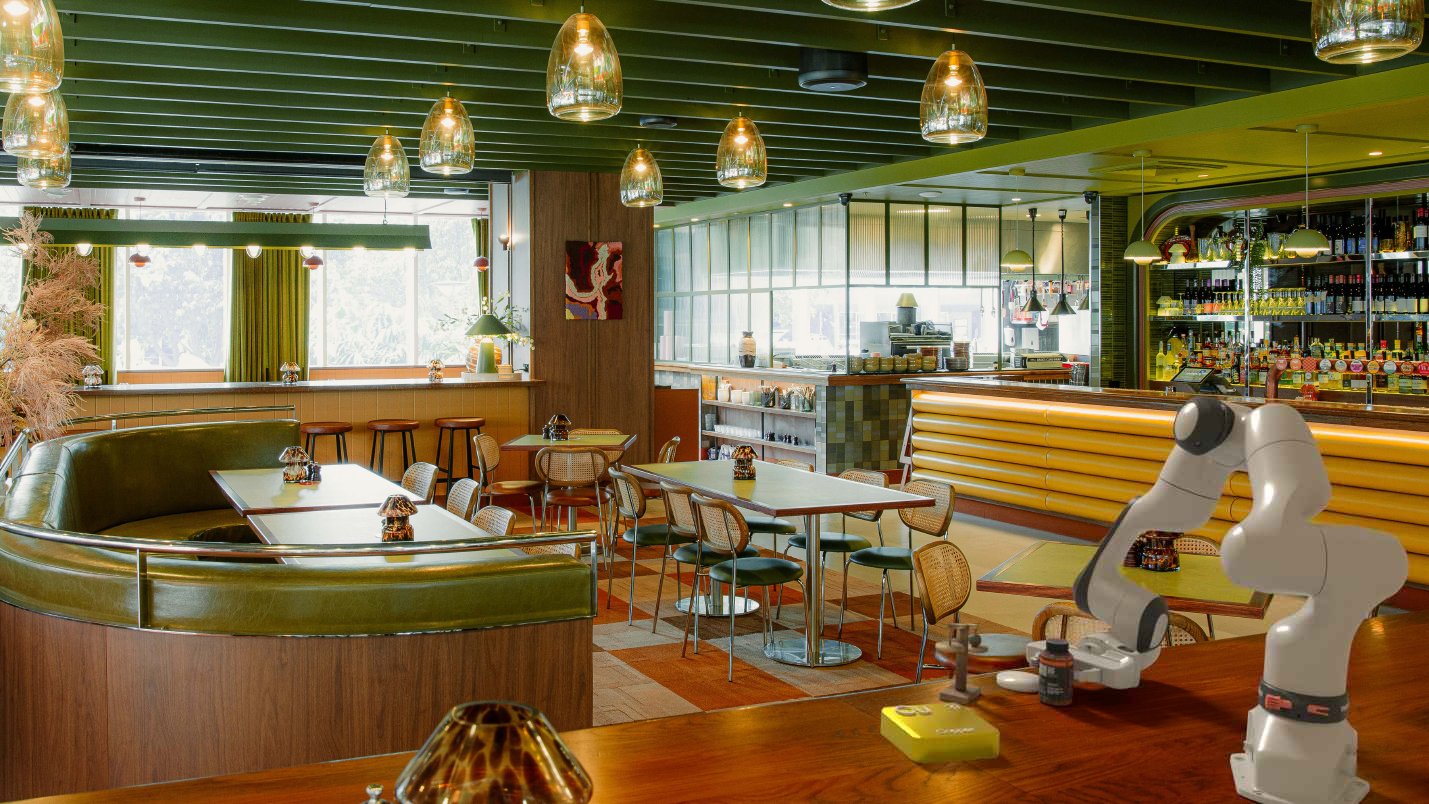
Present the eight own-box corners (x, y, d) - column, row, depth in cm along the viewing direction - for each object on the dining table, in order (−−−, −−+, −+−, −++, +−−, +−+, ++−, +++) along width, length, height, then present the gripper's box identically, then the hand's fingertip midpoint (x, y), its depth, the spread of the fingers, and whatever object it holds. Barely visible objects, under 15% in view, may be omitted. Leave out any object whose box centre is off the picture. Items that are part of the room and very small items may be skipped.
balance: (955, 713, 190) (959, 629, 189) (928, 707, 193) (932, 624, 192) (990, 686, 206) (993, 608, 205) (964, 680, 209) (968, 604, 208)
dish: (1037, 695, 201) (1038, 689, 201) (990, 685, 206) (990, 679, 206) (1051, 683, 209) (1051, 677, 209) (1004, 674, 214) (1005, 668, 214)
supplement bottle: (1068, 697, 201) (1071, 637, 200) (1075, 708, 195) (1078, 646, 194) (1034, 695, 201) (1038, 635, 201) (1041, 706, 196) (1044, 644, 195)
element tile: (916, 767, 167) (917, 736, 166) (876, 732, 181) (877, 703, 181) (1003, 760, 171) (1005, 730, 170) (957, 726, 185) (958, 698, 185)
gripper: (1052, 629, 214) (1007, 639, 205) (1148, 655, 198) (1104, 667, 189) (1050, 660, 214) (1006, 672, 206) (1146, 689, 198) (1103, 702, 190)
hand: (1054, 669), depth 197 cm, fingers open, 8 cm apart
